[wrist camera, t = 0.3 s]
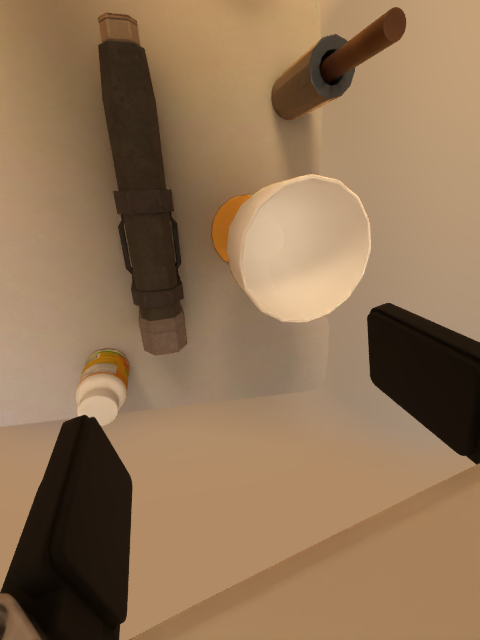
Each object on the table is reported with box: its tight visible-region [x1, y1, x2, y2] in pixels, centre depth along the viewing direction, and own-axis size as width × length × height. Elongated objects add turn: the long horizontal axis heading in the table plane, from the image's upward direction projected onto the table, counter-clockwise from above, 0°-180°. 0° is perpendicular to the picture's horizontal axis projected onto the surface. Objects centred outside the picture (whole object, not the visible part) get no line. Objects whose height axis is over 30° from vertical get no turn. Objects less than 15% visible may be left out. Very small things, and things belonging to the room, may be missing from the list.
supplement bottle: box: [75, 349, 129, 426], centre depth 36 cm, size 5×5×10 cm
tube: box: [98, 13, 187, 355], centre depth 32 cm, size 11×7×30 cm
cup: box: [211, 174, 371, 323], centre depth 31 cm, size 12×12×17 cm
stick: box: [319, 7, 406, 84], centre depth 27 cm, size 2×2×16 cm
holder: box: [272, 34, 355, 120], centre depth 31 cm, size 4×4×9 cm
